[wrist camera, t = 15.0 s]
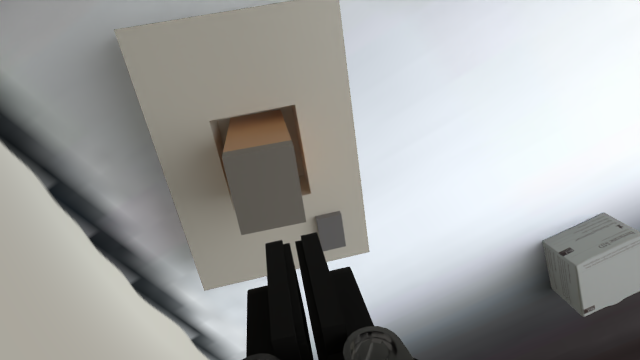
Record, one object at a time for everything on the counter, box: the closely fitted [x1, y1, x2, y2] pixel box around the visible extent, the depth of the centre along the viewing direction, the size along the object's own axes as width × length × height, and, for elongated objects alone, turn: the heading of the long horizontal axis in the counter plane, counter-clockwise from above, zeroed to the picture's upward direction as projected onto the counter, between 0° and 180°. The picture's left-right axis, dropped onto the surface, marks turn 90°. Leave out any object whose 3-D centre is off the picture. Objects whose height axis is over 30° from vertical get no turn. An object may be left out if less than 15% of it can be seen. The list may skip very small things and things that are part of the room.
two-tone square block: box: [222, 110, 306, 235], centre depth 26 cm, size 5×4×10 cm
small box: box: [542, 213, 640, 317], centre depth 41 cm, size 8×8×5 cm
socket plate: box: [114, 0, 369, 291], centre depth 29 cm, size 20×14×6 cm
